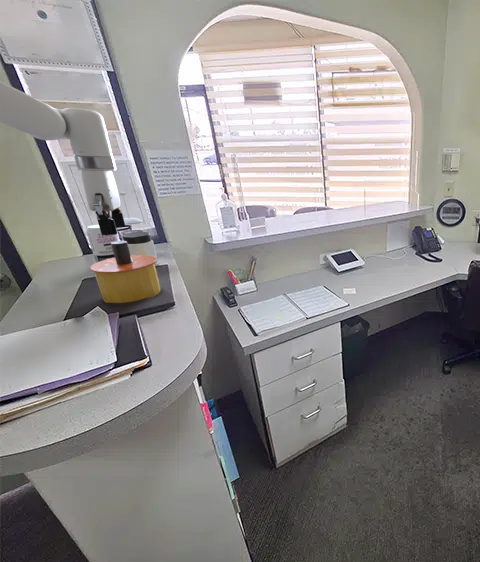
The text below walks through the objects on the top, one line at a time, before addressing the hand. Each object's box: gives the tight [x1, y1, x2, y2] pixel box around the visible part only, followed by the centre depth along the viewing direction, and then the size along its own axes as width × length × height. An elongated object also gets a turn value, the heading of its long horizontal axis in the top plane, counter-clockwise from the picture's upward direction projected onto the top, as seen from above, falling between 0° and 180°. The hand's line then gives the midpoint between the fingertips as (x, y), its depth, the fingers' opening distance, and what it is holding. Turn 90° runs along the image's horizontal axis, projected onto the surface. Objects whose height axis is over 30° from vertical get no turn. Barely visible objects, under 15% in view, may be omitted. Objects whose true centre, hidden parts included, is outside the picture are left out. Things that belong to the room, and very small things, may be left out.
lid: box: [89, 240, 157, 273], centre depth 87 cm, size 15×15×7 cm
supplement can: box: [85, 223, 121, 263], centre depth 110 cm, size 8×8×15 cm
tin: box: [93, 264, 161, 304], centre depth 90 cm, size 14×14×10 cm
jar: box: [121, 231, 160, 267], centre depth 112 cm, size 9×8×12 cm
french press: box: [117, 191, 144, 241], centre depth 121 cm, size 10×12×25 cm
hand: (114, 230), depth 85 cm, fingers open, 9 cm apart
